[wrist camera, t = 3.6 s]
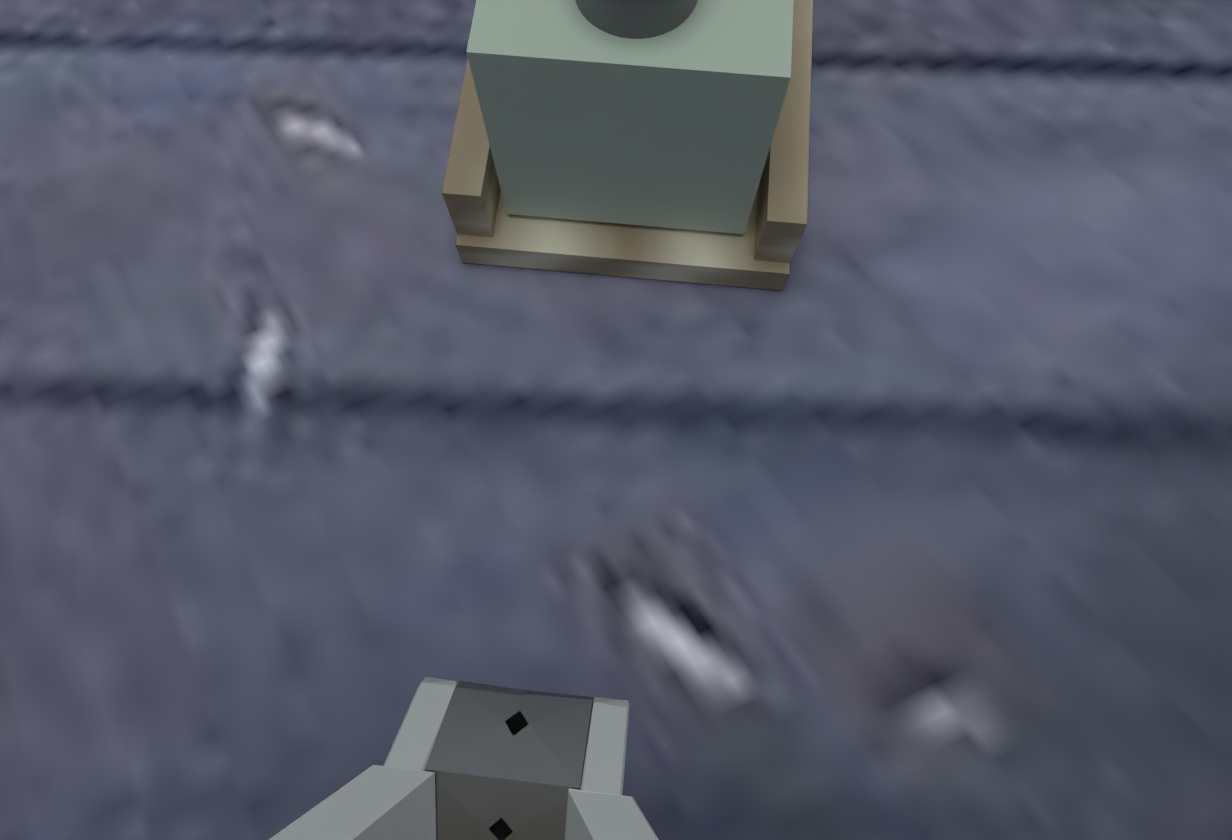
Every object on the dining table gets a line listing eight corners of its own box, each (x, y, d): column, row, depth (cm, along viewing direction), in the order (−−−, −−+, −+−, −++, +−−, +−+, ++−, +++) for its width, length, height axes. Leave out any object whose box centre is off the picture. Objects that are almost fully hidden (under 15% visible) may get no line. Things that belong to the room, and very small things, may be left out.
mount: (794, -47, 39) (828, -182, 32) (782, 290, 33) (819, 205, 27) (521, -67, 39) (502, -204, 33) (462, 262, 34) (427, 172, 27)
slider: (750, 114, 34) (819, -167, 22) (744, 234, 32) (814, -5, 20) (525, 96, 34) (479, -190, 22) (506, 213, 32) (445, -32, 21)
